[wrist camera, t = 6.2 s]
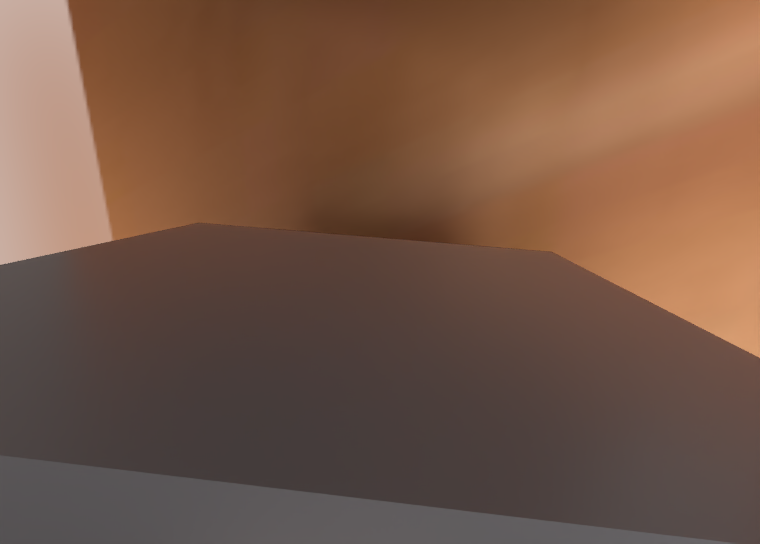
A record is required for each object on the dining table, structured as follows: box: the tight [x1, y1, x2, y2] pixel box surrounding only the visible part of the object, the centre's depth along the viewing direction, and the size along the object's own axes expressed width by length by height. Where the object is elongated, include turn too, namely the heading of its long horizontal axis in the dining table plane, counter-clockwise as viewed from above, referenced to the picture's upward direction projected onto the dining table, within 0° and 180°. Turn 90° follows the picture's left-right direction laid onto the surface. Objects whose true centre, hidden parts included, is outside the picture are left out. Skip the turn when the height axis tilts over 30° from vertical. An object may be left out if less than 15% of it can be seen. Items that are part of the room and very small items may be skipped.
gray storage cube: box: [0, 223, 760, 544], centre depth 8 cm, size 10×10×9 cm
